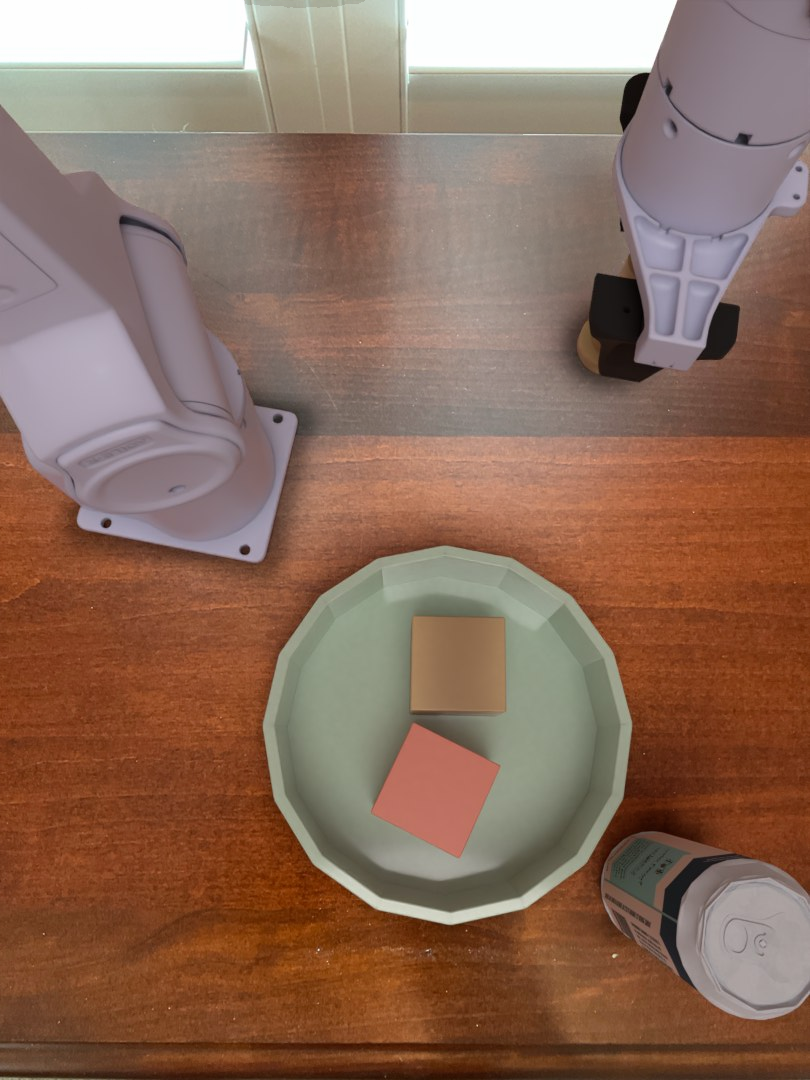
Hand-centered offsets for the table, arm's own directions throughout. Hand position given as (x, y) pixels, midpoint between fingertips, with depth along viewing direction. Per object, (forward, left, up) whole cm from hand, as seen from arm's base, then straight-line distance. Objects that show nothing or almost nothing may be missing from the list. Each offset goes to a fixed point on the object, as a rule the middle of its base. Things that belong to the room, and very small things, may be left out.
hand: (631, 299), depth 40 cm
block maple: (-5, -18, -4) cm, 20 cm away
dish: (-5, -21, -5) cm, 22 cm away
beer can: (+5, -26, -5) cm, 27 cm away
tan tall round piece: (0, 0, -5) cm, 5 cm away
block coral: (-5, -24, -4) cm, 24 cm away
